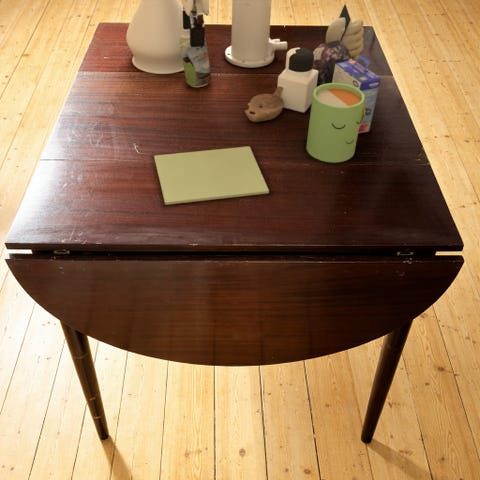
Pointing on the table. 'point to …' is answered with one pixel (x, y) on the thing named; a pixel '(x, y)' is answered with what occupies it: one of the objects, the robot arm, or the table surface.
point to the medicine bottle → (298, 80)
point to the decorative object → (347, 33)
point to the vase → (157, 36)
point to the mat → (209, 175)
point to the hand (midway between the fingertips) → (193, 37)
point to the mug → (335, 121)
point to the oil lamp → (265, 106)
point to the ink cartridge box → (359, 85)
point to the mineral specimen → (329, 59)
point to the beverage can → (195, 62)
